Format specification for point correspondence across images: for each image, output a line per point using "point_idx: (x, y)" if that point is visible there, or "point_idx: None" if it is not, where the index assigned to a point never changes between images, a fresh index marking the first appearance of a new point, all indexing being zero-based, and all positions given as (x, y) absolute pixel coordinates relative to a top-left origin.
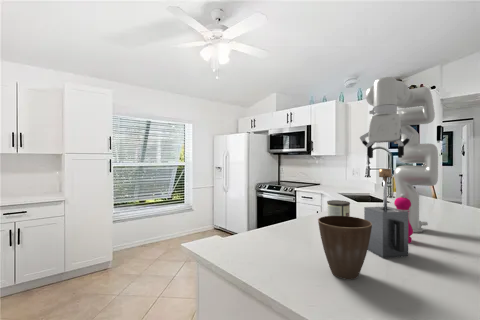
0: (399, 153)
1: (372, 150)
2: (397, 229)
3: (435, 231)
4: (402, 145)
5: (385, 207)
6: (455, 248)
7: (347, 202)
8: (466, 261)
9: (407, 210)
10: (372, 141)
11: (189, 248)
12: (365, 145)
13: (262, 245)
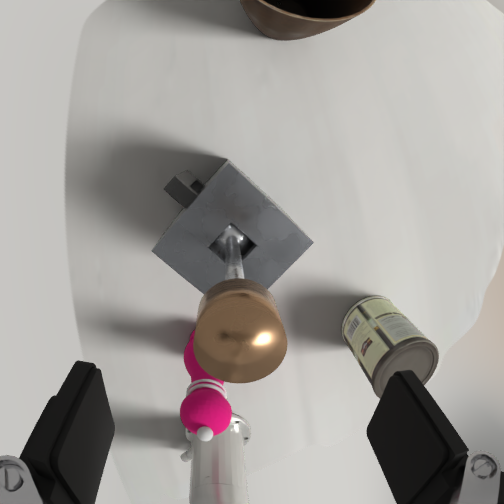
0: (67, 387)
1: (397, 479)
2: (186, 180)
3: (166, 442)
4: (8, 467)
5: (230, 242)
6: (109, 347)
7: (380, 388)
8: (80, 268)
9: (189, 389)
10: None
11: None
12: (497, 472)
13: (471, 90)
